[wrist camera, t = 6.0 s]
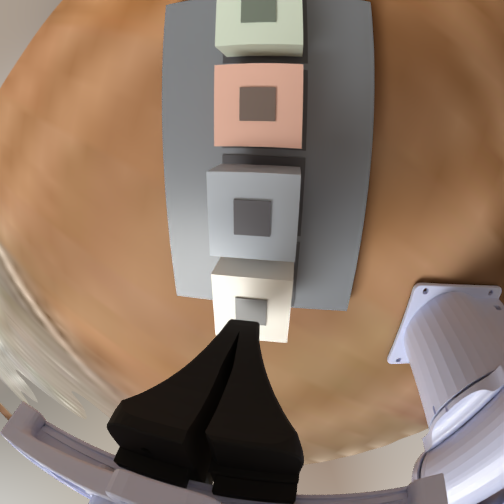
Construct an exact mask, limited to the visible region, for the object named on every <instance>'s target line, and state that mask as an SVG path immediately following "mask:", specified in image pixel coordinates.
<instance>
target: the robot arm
mask: <svg viewBox="0 0 504 504" xmlns="http://www.w3.org/2000/svg"><path fill="white" fill-rule="evenodd" d="M425 288H427V289H426V291H423V290H424V289H425ZM501 292H502V289H501V287H500V286H489V285H461V284H438V283H417V284H416V285H415V286H414V287H413V290H412V293H411V296H410V299H409V302H408V305H407V308H406V311H405V314H404V317H403V319H402V322H401V325H400V328H399V330H398V333H397V335H396V338H395V341H394V343H393V346H392V348H391V350H390V353H389V355H388V358H387V360H388V363H390V364H400V363H410V365H411V368H412V371H413V375H414V378H415V381H416V384H417V387H418V391H419V394H420V397H421V401H422V404H423V408H424V412H425V415H426V419H427V423H428V427H429V432H428V434H427V435H426V436H424V437H423V443H424V448H425V452H423V453H422V454H421V455H420V457H419V458H418V460H417V462H416V463H415V466H414V469H413V473H412V482H411V483H410V484H409V485H408V486H405V487H400V488H394V489H388V490H381V491H373V492H365V493H353V494H335V495H296V492H297V484H298V481H299V473H300V471H301V468H302V466H303V464H304V456H303V450H302V447H301V443H300V440H299V437H298V434H297V432H296V431H295V429H294V428H293V426H292V425H291V423H290V422H289V420H288V419H287V417H286V415H285V414H284V412H283V410H282V408H281V406H280V404H279V402H278V400H277V398H276V396H275V394H274V392H273V390H272V387H271V385H270V382H269V379H268V377H267V374H266V370H265V367H264V363H263V359H262V355H261V349H260V343H259V336H260V324H259V323H258V322H255V321H245V320H236V319H230V320H229V321H228V322H227V323H226V325H225V326H224V327H223V329H222V330H221V331H220V332H219V334H218V335H217V336H216V337H215V338H214V339H213V340H212V341H211V343H210V344H209V345H208V346H207V347H206V348H205V349H204V350H203V351H202V352H201V353H200V354H199V355H198V356H197V357H196V358H194V359H193V360H192V361H191V362H190V363H189V364H187V365H186V366H185V367H184V368H182V369H181V370H180V371H178V372H177V373H176V374H174V375H173V376H171V377H170V378H168V379H167V380H165V381H163V382H162V383H160V384H158V385H156V386H154V387H153V388H151V389H149V390H147V391H145V392H143V393H140V394H138V395H135V396H133V397H130V398H128V399H125V400H122V401H121V403H120V404H119V405H118V407H117V408H116V410H115V411H114V413H113V415H112V417H111V418H110V420H109V422H108V424H107V429H108V431H109V433H110V434H111V436H112V437H113V438H114V440H115V441H116V442H117V443H118V445H119V446H120V448H119V450H118V452H117V454H116V456H115V455H113V454H110V453H108V452H106V451H103V450H101V449H99V448H97V447H94V446H92V445H90V444H88V443H86V442H84V441H82V440H80V439H78V438H76V437H74V436H72V435H70V434H68V433H67V432H65V431H63V430H61V429H59V428H57V427H56V426H54V425H52V424H51V423H49V422H47V421H46V420H45V418H44V417H43V416H42V415H41V413H40V412H38V411H37V410H36V409H34V408H33V407H31V406H30V405H28V404H27V403H25V402H22V403H21V404H20V405H19V407H18V408H17V410H16V411H15V412H14V414H13V415H12V416H11V418H10V419H9V421H8V422H7V424H6V425H5V427H4V428H3V429H2V431H1V432H0V433H1V435H2V436H3V437H4V438H5V439H6V440H7V441H8V442H9V443H10V444H11V445H12V446H13V447H15V448H16V449H17V450H18V451H19V452H20V453H21V454H22V455H23V456H25V457H26V458H27V459H28V460H30V461H31V462H32V463H34V464H35V465H36V466H38V467H39V468H41V469H42V470H44V471H45V472H46V473H48V474H49V475H51V476H52V477H54V478H56V479H57V480H58V481H60V482H61V483H63V484H65V485H66V486H68V487H70V488H71V489H73V490H75V491H76V492H78V493H80V494H81V495H83V496H85V497H87V498H89V499H90V501H89V503H88V504H504V305H503V303H502V302H501V301H500V300H499V297H500V295H501ZM213 482H214V484H213ZM212 484H213V485H212Z"/></svg>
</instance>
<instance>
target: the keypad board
mask: <svg viewBox="0 0 504 504" xmlns="http://www.w3.org/2000/svg"><path fill="white" fill-rule="evenodd" d="M216 3H217V0H189V1H184V2H178V3H174V4H169V5H166V13H165V26H164V42H163V67H162V132H163V158H164V176H165V191H166V204H167V216H168V226H169V236H170V245H171V254H172V262H173V270H174V277H175V285H176V292H177V296H185V297H193V298H201V299H209V300H213V295H212V281H211V273H212V272H213V270H214V268H215V266H216V264H217V263H218V261H219V259H220V257H219V256H210V248H209V229H208V207H207V178H206V172H207V171H208V170H210V169H212V168H214V167H216V166H218V165H219V164H249V165H275V166H293V167H300V170H301V185H300V202H299V217H298V231H297V244H296V256H295V262H294V277H293V290H292V300H291V307H294V308H308V309H323V310H341V311H347V308H348V304H349V299H350V295H351V290H352V285H353V281H354V276H355V271H356V265H357V260H358V254H359V249H360V243H361V237H362V230H363V224H364V217H365V210H366V202H367V194H368V185H369V176H370V166H371V154H372V140H373V123H374V41H373V25H372V12H371V2H368V1H362V0H302V8H303V54H302V57H295V56H238V57H226V56H225V55H224V54H223V53H222V52H221V51H219V50H218V49H217V48H216V47H215V27H216ZM246 63H285V64H303V120H302V149H298V148H280V147H249V146H214V65H225V64H246Z"/></svg>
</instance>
